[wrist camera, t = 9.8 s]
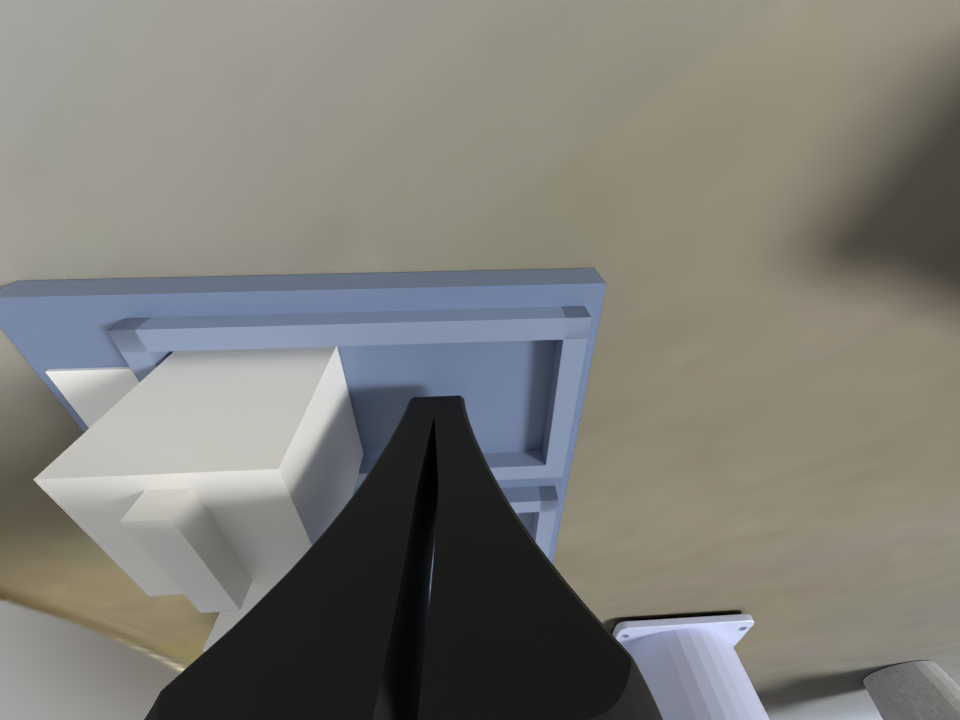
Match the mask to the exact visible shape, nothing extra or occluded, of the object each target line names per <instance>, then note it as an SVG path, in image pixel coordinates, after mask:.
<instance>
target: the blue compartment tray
mask: <svg viewBox="0 0 960 720" xmlns="http://www.w3.org/2000/svg"><path fill="white" fill-rule="evenodd" d="M605 288H606V282H605V281H604V280H603V278H602V277H601V276H600V275H599V273H598V272H597V271H596V270H595V268H577V269H532V270H486V271H441V272H395V273H350V274H304V275H259V276H213V277H168V278H123V279H77V280H32V281H16V282H14V283H11V284H9V285H7V286H4V287H2V288H0V328H1V329H2V330H3V332H4V333H5V334H6V335H7V337H8V338H9V339H10V340H11V342H12V343H13V344H14V345H15V347H16V348H17V349H18V350H19V352H20V353H21V354H22V355H23V357H24V358H25V359H26V360H27V362H28V363H29V364H30V365H31V367H32V368H33V369H34V370H35V372H36V373H37V374H38V375H39V377H40V378H41V379H42V380H43V382H44V383H45V384H46V385H47V387H48V388H49V389H50V390H51V392H52V393H53V394H54V395H55V397H56V398H57V399H58V401H59V402H60V403H61V404H62V406H63V407H64V408H65V409H66V411H67V412H68V413H69V414H70V416H71V417H72V418H73V419H74V421H75V422H76V423H77V424H78V426H79V427H80V428H81V429H82V431H83V432H84V433H85V432H86V431H87V430H88V429H89V428H90V427H91V426H93V425H94V424H95V423H96V422H97V421H98V420H99V419H100V418H101V417H102V416H104V415H105V414H106V413H107V412H108V411H109V410H110V409H111V408H112V407H113V406H115V405H116V404H117V403H118V402H119V401H120V400H121V399H122V398H123V397H124V396H126V395H127V394H128V393H129V392H130V391H131V390H132V389H133V388H134V387H135V386H136V385H138V384H139V383H140V382H141V381H142V380H143V379H144V378H145V377H146V376H147V375H149V374H150V373H151V372H152V371H153V370H154V369H155V368H156V367H157V366H158V365H160V364H161V363H162V362H163V361H164V360H165V359H166V358H167V357H168V356H169V355H170V354H172V353H173V352H174V351H199V350H233V349H266V348H299V347H332V346H337V348H338V352H339V356H340V360H341V364H342V368H343V372H344V376H345V380H346V384H347V388H348V392H349V396H350V400H351V404H352V409H353V413H354V417H355V421H356V425H357V429H358V433H359V437H360V441H361V445H362V449H363V457H362V461H361V465H360V469H359V473H358V477H357V481H356V485H355V488H354V492H353V495H354V494H355V492H356V491H357V490H358V488H359V487H360V485H361V484H362V482H363V481H364V479H365V478H366V476H367V475H368V473H369V472H370V471H371V469H372V468H373V466H374V465H375V463H376V462H377V460H378V458H379V457H380V455H381V454H382V452H383V450H384V449H385V447H386V445H387V444H388V442H389V440H390V439H391V437H392V435H393V433H394V431H395V430H396V428H397V426H398V424H399V422H400V420H401V418H402V416H403V414H404V412H405V410H406V408H407V405H408V403H409V401H410V400H411V399H412V398H413V397H431V396H457V395H460V396H461V397H463V398H464V400H465V407H466V411H467V415H468V418H469V422H470V424H471V427H472V430H473V433H474V435H475V438H476V440H477V442H478V444H479V447H480V449H481V451H482V453H483V455H484V458H485V460H486V462H487V464H488V466H489V468H490V470H491V472H492V473H493V475H494V477H495V479H496V481H497V483H498V484H499V486H500V488H501V490H502V491H503V493H504V495H505V497H506V498H507V500H508V502H509V503H510V505H511V506H512V508H513V509H514V511H515V513H516V514H517V516H518V517H519V519H520V520H521V522H522V523H523V525H524V526H525V528H526V529H527V531H528V532H529V533H530V535H531V536H532V538H533V539H534V541H535V542H536V543H537V545H538V546H539V547H540V549H541V550H542V551H543V552H544V554H545V555H546V556H547V558H548V559H549V560H550V562H551V563H552V562H553V557H554V552H555V547H556V542H557V536H558V531H559V526H560V521H561V516H562V510H563V505H564V500H565V495H566V490H567V485H568V479H569V474H570V469H571V464H572V459H573V454H574V448H575V443H576V438H577V433H578V428H579V422H580V417H581V412H582V407H583V402H584V397H585V391H586V386H587V381H588V376H589V371H590V366H591V360H592V355H593V350H594V345H595V340H596V335H597V329H598V324H599V319H600V314H601V309H602V303H603V298H604V293H605ZM434 545H435V543H434ZM433 557H434V551H433ZM432 570H433V560H432V568H431V580H430V592H431V581H432ZM429 603H430V596H429Z"/></svg>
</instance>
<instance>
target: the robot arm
mask: <svg viewBox="0 0 960 720" xmlns="http://www.w3.org/2000/svg"><path fill="white" fill-rule="evenodd" d="M434 543H435V545H434ZM433 551H434V557H433ZM432 560H433V570H432V581H431V592H430V580H431V568H432ZM429 596H430V603H429ZM753 624H754V621H753V619H752V617H751V616H750V615H749V614H735V615H719V616H703V617H687V618H671V619H655V620H639V621H624V622H620V623H618V624H617V625H616V627H615V629H614V631H613V634H611V633H610V632H609V631H608V630H607V628H606V627H605V626H604V625H603V624H602V623H601V622H600V621H599V620H598V618H597V617H596V616H595V615H594V614H593V613H592V612H591V611H590V609H589V608H588V607H587V606H586V605H585V604H584V602H583V601H582V600H581V599H580V598H579V596H578V595H577V594H576V593H575V592H574V591H573V589H572V588H571V587H570V586H569V585H568V583H567V582H566V581H565V580H564V578H563V577H562V576H561V575H560V573H559V572H558V571H557V569H556V568H555V567H554V565H553V564H552V563H551V562H550V560H549V559H548V558H547V556H546V555H545V554H544V552H543V551H542V550H541V549H540V547H539V546H538V545H537V543H536V542H535V541H534V539H533V538H532V536H531V535H530V533H529V532H528V531H527V529H526V528H525V526H524V525H523V523H522V522H521V520H520V519H519V517H518V516H517V514H516V513H515V511H514V509H513V508H512V506H511V505H510V503H509V502H508V500H507V498H506V497H505V495H504V493H503V491H502V490H501V488H500V486H499V484H498V483H497V481H496V479H495V477H494V475H493V473H492V472H491V470H490V468H489V466H488V464H487V462H486V460H485V458H484V455H483V453H482V451H481V449H480V447H479V444H478V442H477V440H476V438H475V435H474V433H473V430H472V427H471V424H470V422H469V418H468V415H467V411H466V407H465V400H464V398H463V397H461V396H460V395H457V396H431V397H413V398H412V399H411V400H410V401H409V403H408V405H407V408H406V410H405V412H404V414H403V416H402V418H401V420H400V422H399V424H398V426H397V428H396V430H395V431H394V433H393V435H392V437H391V439H390V440H389V442H388V444H387V445H386V447H385V449H384V450H383V452H382V454H381V455H380V457H379V458H378V460H377V462H376V463H375V465H374V466H373V468H372V469H371V471H370V472H369V473H368V475H367V476H366V478H365V479H364V481H363V482H362V484H361V485H360V487H359V488H358V490H357V491H356V492H355V494H354V495H353V496H352V498H351V499H350V500H349V502H348V503H347V504H346V506H345V507H344V508H343V510H342V511H341V512H340V513H339V515H338V516H337V517H336V518H335V520H334V521H333V522H332V523H331V524H330V526H329V527H328V528H327V529H326V530H325V532H324V533H323V534H322V535H321V536H320V537H319V538H318V540H317V541H316V542H315V543H314V544H313V545H312V546H311V548H310V549H309V550H308V551H307V552H306V553H305V555H304V556H303V557H302V558H301V559H300V560H299V561H298V562H297V563H296V564H295V565H294V566H293V568H292V569H291V570H290V571H289V572H288V573H287V574H286V575H285V576H284V577H283V578H282V579H281V580H280V581H279V582H278V583H277V584H276V585H275V586H274V587H273V588H272V589H271V590H270V591H269V592H268V593H267V594H266V595H265V596H264V597H263V598H262V599H261V600H260V601H259V602H258V603H257V604H256V605H255V606H254V607H253V608H252V609H251V610H250V611H249V612H248V613H247V614H246V615H245V616H244V617H243V618H242V619H241V620H239V621H238V622H237V623H236V624H235V625H234V626H233V627H232V628H231V629H230V630H229V631H228V632H227V633H225V634H224V635H223V636H222V637H221V638H220V639H219V640H218V641H217V642H215V643H214V644H213V645H212V646H211V647H210V648H209V649H208V650H206V651H205V652H204V653H203V654H202V655H201V656H200V657H199V658H198V659H196V660H195V661H194V662H193V663H192V664H191V665H190V666H189V667H187V668H186V669H185V670H184V671H183V672H182V673H181V674H180V675H179V676H177V677H176V678H175V679H174V680H173V681H172V682H171V683H170V684H168V685H167V686H166V687H165V688H164V689H163V690H162V691H161V692H160V694H159V696H158V698H157V699H156V701H155V703H154V705H153V707H152V708H151V710H150V711H149V713H148V715H147V716H146V718H145V719H144V720H770V719H769V717H768V715H767V713H766V711H765V709H764V707H763V705H762V704H761V702H760V700H759V698H758V696H757V694H756V692H755V690H754V688H753V686H752V684H751V682H750V680H749V678H748V676H747V674H746V672H745V670H744V668H743V666H742V664H741V662H740V660H739V658H738V656H737V654H736V652H735V650H734V648H733V647H734V646H735V645H736V643H737V642H738V641H739V640H740V639H741V638H742V637H743V636H744V634H745V633H746V632H747V631H748V630H749V629H750V628H751V627H752V625H753Z"/></svg>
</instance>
